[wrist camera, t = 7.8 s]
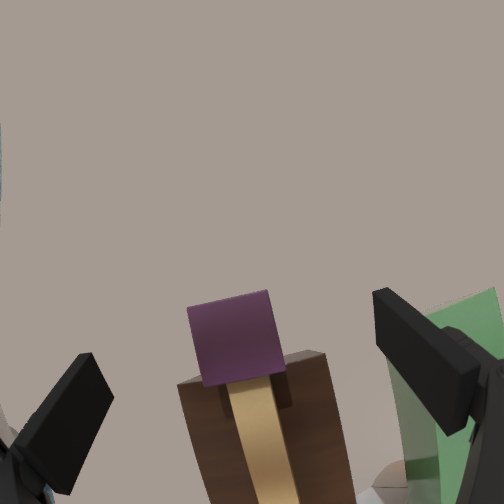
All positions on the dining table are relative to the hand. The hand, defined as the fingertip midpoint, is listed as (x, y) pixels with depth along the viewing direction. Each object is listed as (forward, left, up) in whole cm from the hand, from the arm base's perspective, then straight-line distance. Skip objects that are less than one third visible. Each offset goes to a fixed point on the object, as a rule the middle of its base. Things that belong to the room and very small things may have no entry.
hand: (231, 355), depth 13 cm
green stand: (-3, +25, -33) cm, 42 cm away
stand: (-10, +7, -33) cm, 35 cm away
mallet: (-6, +4, -5) cm, 9 cm away
